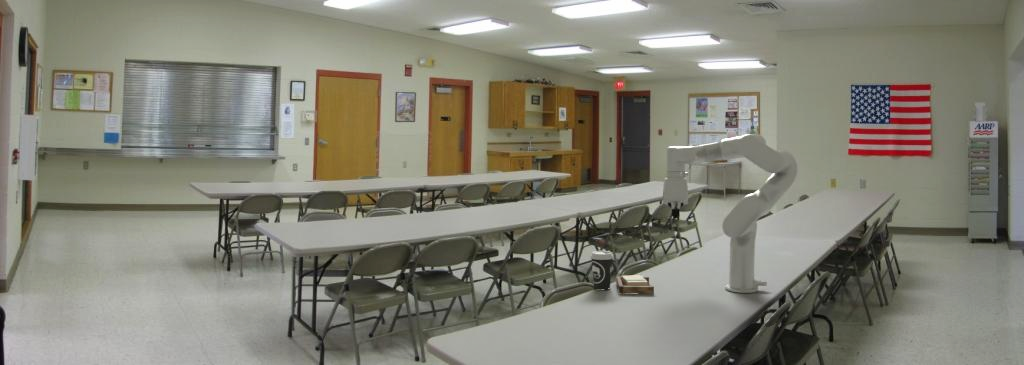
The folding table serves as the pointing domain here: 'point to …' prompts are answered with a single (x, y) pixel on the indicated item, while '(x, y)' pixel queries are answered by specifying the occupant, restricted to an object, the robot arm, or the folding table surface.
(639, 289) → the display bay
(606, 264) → the coffee cup
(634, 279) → the carton
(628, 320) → the folding table surface
